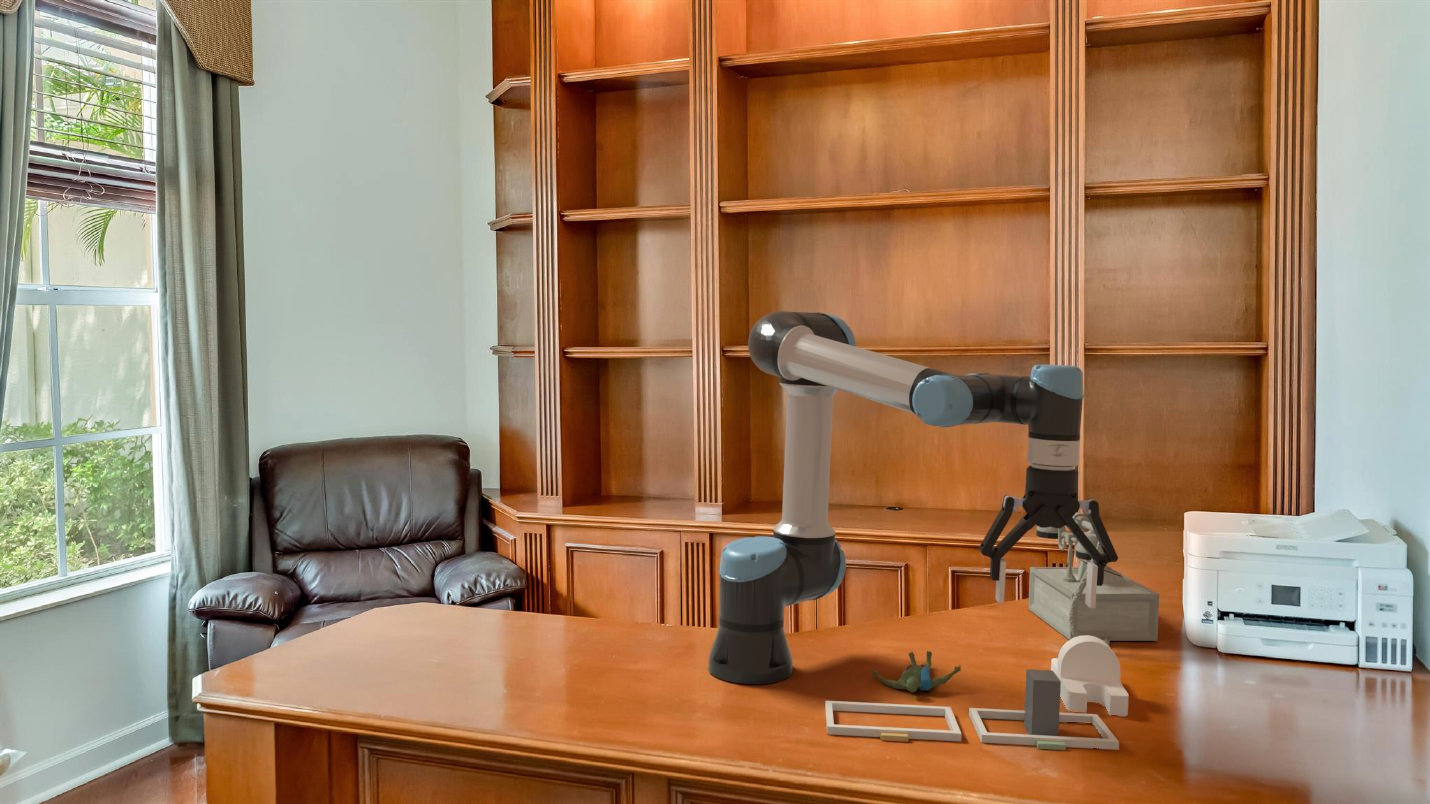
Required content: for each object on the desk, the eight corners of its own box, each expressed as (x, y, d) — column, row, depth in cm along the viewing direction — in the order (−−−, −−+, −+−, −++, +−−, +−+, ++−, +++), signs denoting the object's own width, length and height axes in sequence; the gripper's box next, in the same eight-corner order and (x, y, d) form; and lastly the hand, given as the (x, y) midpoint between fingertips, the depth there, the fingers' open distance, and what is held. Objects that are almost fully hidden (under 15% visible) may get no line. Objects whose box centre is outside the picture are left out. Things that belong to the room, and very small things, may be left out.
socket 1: (827, 737, 151) (827, 729, 151) (825, 707, 163) (825, 700, 163) (962, 744, 149) (962, 736, 149) (950, 714, 161) (950, 707, 161)
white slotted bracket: (1067, 713, 163) (1069, 652, 163) (1049, 677, 181) (1052, 621, 180) (1129, 718, 162) (1132, 656, 161) (1105, 681, 179) (1108, 625, 179)
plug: (1031, 738, 152) (1033, 680, 152) (1023, 723, 158) (1025, 667, 157) (1058, 739, 152) (1060, 681, 151) (1049, 724, 158) (1051, 668, 157)
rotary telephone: (1173, 652, 196) (1179, 526, 195) (1070, 652, 195) (1076, 525, 194) (1102, 608, 229) (1107, 499, 227) (1014, 607, 228) (1018, 498, 226)
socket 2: (982, 745, 149) (983, 738, 149) (968, 715, 161) (969, 707, 161) (1121, 753, 147) (1121, 745, 147) (1096, 721, 159) (1097, 714, 159)
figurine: (963, 647, 182) (957, 675, 165) (966, 669, 182) (961, 698, 165) (877, 652, 187) (863, 679, 170) (880, 673, 187) (866, 703, 170)
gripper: (973, 466, 149) (966, 606, 151) (1145, 473, 147) (1136, 614, 149) (964, 459, 157) (958, 593, 158) (1128, 466, 155) (1120, 601, 156)
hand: (1044, 603), depth 154 cm, fingers open, 13 cm apart
